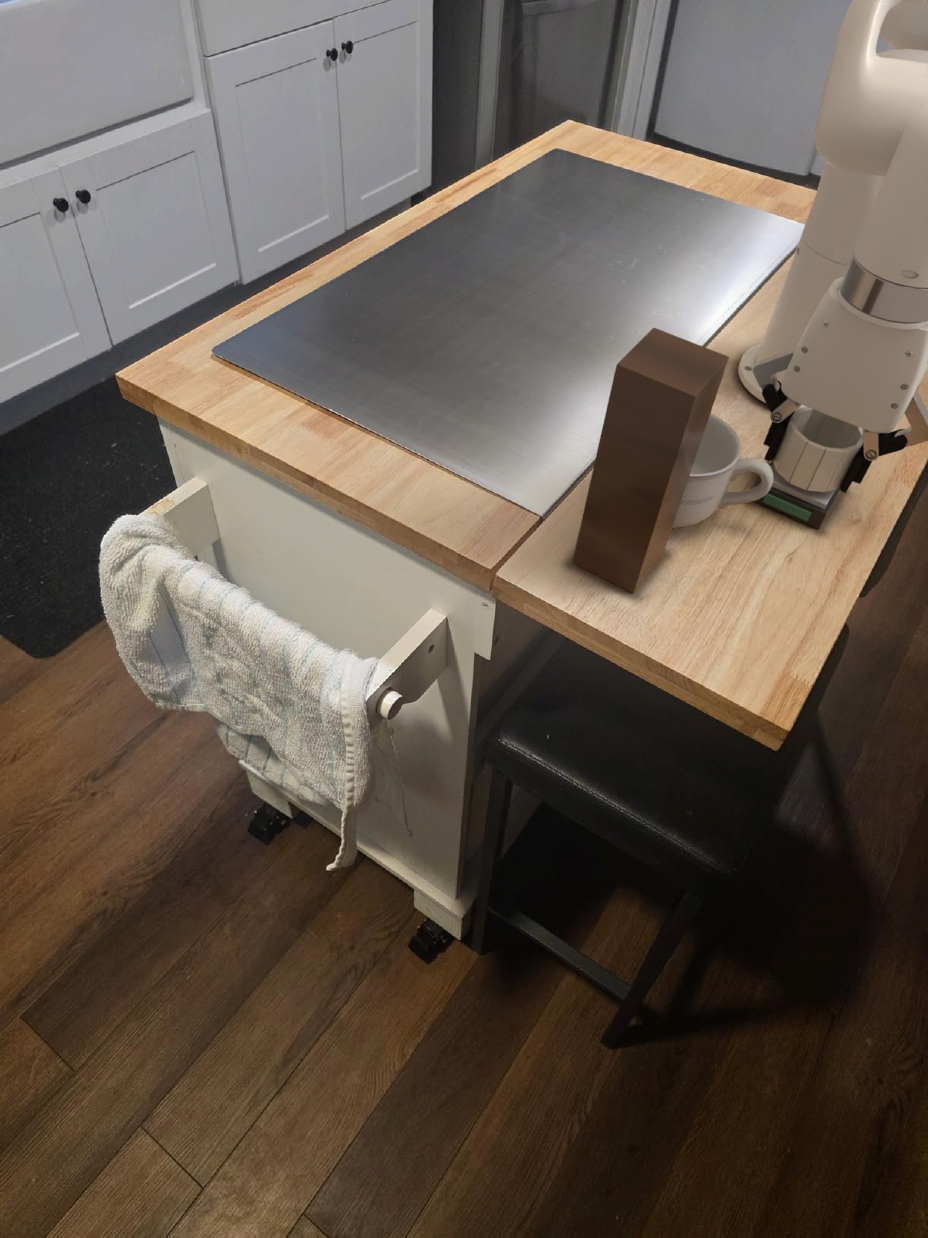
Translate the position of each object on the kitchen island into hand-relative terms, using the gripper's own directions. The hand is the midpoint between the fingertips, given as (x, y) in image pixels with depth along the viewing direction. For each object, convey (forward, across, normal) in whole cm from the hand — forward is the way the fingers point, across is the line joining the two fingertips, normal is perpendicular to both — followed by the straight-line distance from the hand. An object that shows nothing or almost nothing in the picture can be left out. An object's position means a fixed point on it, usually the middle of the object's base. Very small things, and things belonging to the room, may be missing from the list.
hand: (809, 467), depth 80 cm
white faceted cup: (0, 0, 0) cm, 0 cm away
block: (+4, +10, +18) cm, 21 cm away
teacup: (+4, +9, +9) cm, 13 cm away
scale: (+4, 0, 0) cm, 4 cm away
